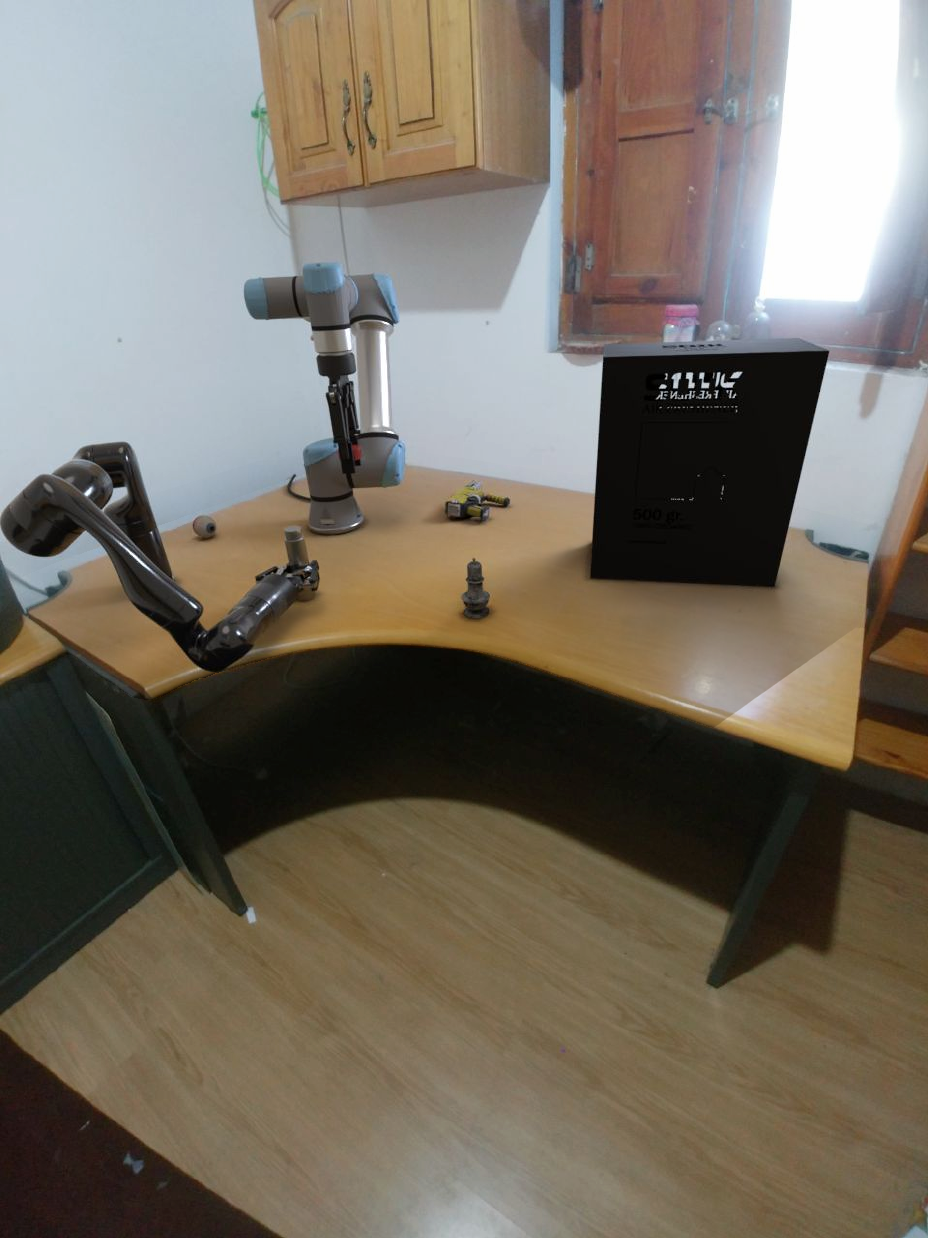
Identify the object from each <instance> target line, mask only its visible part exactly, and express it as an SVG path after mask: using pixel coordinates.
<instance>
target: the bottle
mask: <svg viewBox="0 0 928 1238" xmlns="http://www.w3.org/2000/svg"><path fill="white" fill-rule="evenodd" d="M283 533H284V535H285V537H284V538H283V541H284V545H285V550H286V555H287V559H288V562H289V564H290V569H291V574H292V573H293V572H295V571H297V570H298V569H301V570H303V569H304V568H306V567H307V566H308V565H309V564H310V559H309V554H308V550H307V549H308V548H307V544H306V543H307V542H306V539H305V535H303V534H302V527H301V526H299V525H290V526H287V527H285V528H284V530H283ZM306 577H307V573H306ZM316 595H317V594H316V591H312V590H311V588H304V590H303V591H302V592H299V593H298V594H297V596H296V599H297V600H298V601H300V602H307V601H311V600H313V599H315V598H316Z"/></svg>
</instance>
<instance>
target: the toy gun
mask: <svg viewBox="0 0 928 1238" xmlns="http://www.w3.org/2000/svg"><path fill="white" fill-rule="evenodd" d="M485 501H486V502H488V503H492V504H496V505H497V504H498V505H502V506H504V507H508V506H509V505H510V504H511V498H510V497H507V496H506V497H505V496H504V497H503V496H499V495H496V494H492V493H487V494H486V495H485V494H484V491H483V482H481V481H479V480H478V481H477V480H472V481H471V482H469V484H467V485H465V486H464V487H462V488H461V489H460V490H459V491H458V492H456V493H455V494H454V495H453V496H451V497H450V498H448V500H447V501H445V502H444V514H445V515H446V516H449V518H454V519H456V518H465V517H469V516H473V517H476V518H479V521H485V520H487V519H488V518H489V517H490V508H491V506H490V505H485V506H484V505H483V504H482V503H483V502H485Z"/></svg>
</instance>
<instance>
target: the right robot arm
mask: <svg viewBox="0 0 928 1238" xmlns="http://www.w3.org/2000/svg"><path fill="white" fill-rule="evenodd" d="M301 269H302V275H294V276H274V277H262V276H261V277H257V278H249V279H246V281H245V282H244V285H243V298H244V304H245V307H246V309H247V312H248V314H249V316H250V317H251V318H253V319H254V320H259V321H260V320H261V321H263V320H265V321H269V320H286V319H287V320H288V319H290V320H293V319H295V320H299V319H300V320H301V319H302V320H304V321H306V322H308V323H310V328H311V334H312V335H310V340H311V341H313V345H314V352H316V353H317V354H318V355H316V357H315V359H316V367H317V372H318V375H319V376H321V377H324V378H325V377H326V378H328V386H327V391H326V392H325V399H326V403H327V407H328V413H329V420H330V426H331V431H332V437H329V438H325V439H324V438H323V439H320V440H316V441H314V442H312V443H309V444H308V445H306V446H305V447H304V448H303V450H302V457H303V467H304V471H305V477H306V481H307V486H308V492H309V497H308V496H304V495H302V494H301V495H300V494H298V493H296V492H294V491H292V489H291V485H292V483H293V481H294V480H295V478H296V476H297V474H296V473H293V474H292V476H291V478H290V479H289V482H288V483H287V485H286V486H287V487H286V489H287V491H288V493H289V494H290V495H292V496H294V497H295V498H298V499H302V500H305V501H309V502H310V507H309V513H308V521H307V522H308V523H307V524H308V528H309V529H308V530H310V531H311V532H312V533H314V534H317V535H323V536H324V535H325V536H327V535H329V536H331V535H339V534H340V535H341V534H345V533H350V532H353V531H355V530H357V529H359V528H361V527H362V526H363V525H364V523H365V519H364V514H363V512H362V510H361V508H360V505H359V504H358V501H357V500H356V498H355V495H354V489H369V488H370V489H373V488H383V489H386V488H391V487H397V486H399V485H401V484H402V481H403V480H404V475H405V469H406V444H405V442H404V441H402V440H400V436H399V434H398V433H397V431H395V430H394V427H393V425H394V424H393V406H392V386H391V385H392V384H391V382H392V381H391V365H390V341H389V338H390V337H391V336H392V335H393V333H394V331H395V327H394V326H395V325H397V324H399V323H400V312H399V306H398V301H397V296H396V292H395V288H394V284H393V281H392V279H391V277H390V275H388V274H386V273H369V274H355V275H353V274H352V275H346V274H345V273H344V269H343V266H342V263H340V262H339V261H328V262H327V261H325V262H309V263H305V264H304V265H303V266H302V268H301ZM353 336H354V337H355V347H354V342H353ZM354 348H355V353H356V356H355V354H354V353H353V352H352V351H354ZM356 372H357V390H358V410H359V411H357V404H356V396H355V386H354V385H355V384H354V381H353V380H350V378H349V375H350V376H351V375H354V374H355V373H356ZM358 412H359V419H358ZM352 445H359V446H360V449H361V454H362V457H361V458H360V459H358V460H355V461H354V456H353V450H352ZM338 448H339V454H340V459H339V455H338Z"/></svg>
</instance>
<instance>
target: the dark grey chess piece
mask: <svg viewBox="0 0 928 1238" xmlns="http://www.w3.org/2000/svg"><path fill="white" fill-rule="evenodd" d="M471 560H472V561H471ZM471 560H470V562H468V563H467V565H466V574H467V575H466V576H467V577H466V578H465V582H466V583H467V589H466V591H464V592H463V593H462V594H461V596H460V599H461V600H462V602H463V605H464V606H465V608H464V609H463V615H464V616H465V617H467V618H469V619H481V618H485V617H487V616H488V615H489V614H490V609H489V608H488V607H487V606H488V604H489V602H490V599H491V594H490V592H489V591H487V590H484V581H485V577H484V576H483V566H482V563H481V562H480V561H477V560H476V557H473V558H472V559H471Z"/></svg>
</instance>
